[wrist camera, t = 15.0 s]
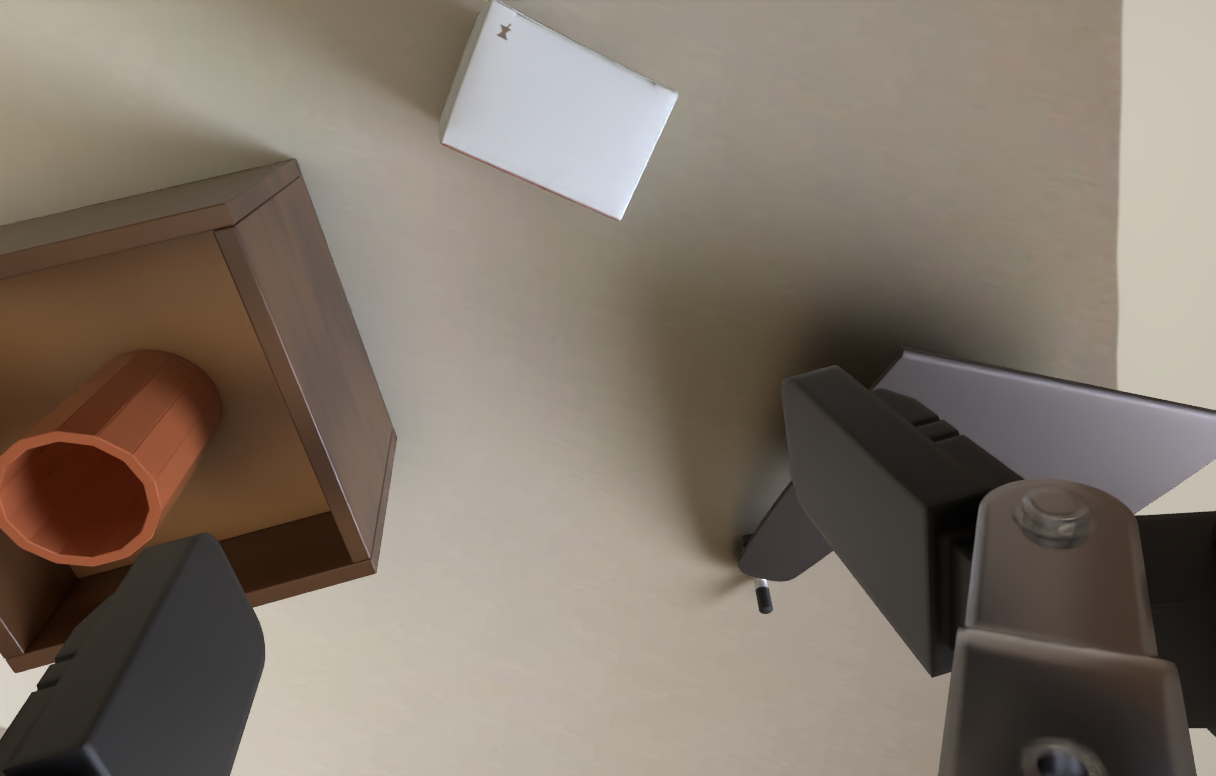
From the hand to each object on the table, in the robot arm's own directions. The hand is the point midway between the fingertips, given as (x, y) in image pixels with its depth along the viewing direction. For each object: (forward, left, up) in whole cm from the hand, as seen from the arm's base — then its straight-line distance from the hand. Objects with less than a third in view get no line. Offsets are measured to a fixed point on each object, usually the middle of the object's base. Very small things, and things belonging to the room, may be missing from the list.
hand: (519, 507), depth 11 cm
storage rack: (+5, -16, -32) cm, 36 cm away
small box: (-3, +4, -32) cm, 33 cm away
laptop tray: (+25, +23, -32) cm, 47 cm away
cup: (+5, -16, -24) cm, 29 cm away
